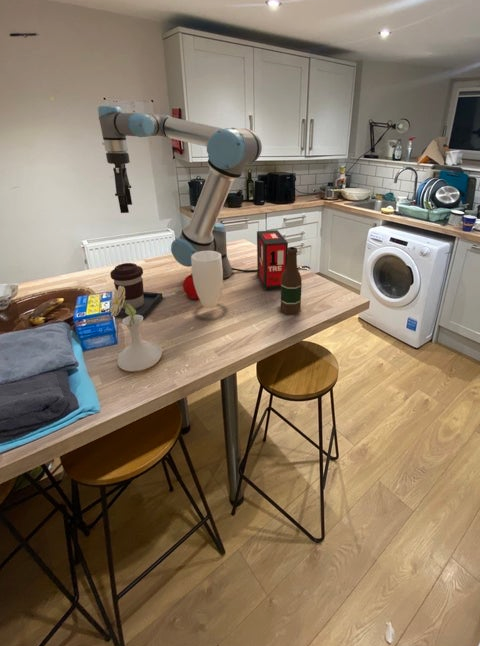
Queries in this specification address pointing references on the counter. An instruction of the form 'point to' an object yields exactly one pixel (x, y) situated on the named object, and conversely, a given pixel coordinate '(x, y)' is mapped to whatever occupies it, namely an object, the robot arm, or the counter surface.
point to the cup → (207, 276)
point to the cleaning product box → (271, 258)
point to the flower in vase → (134, 338)
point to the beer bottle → (291, 285)
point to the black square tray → (144, 305)
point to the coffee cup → (129, 283)
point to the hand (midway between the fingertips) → (126, 208)
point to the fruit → (190, 287)
